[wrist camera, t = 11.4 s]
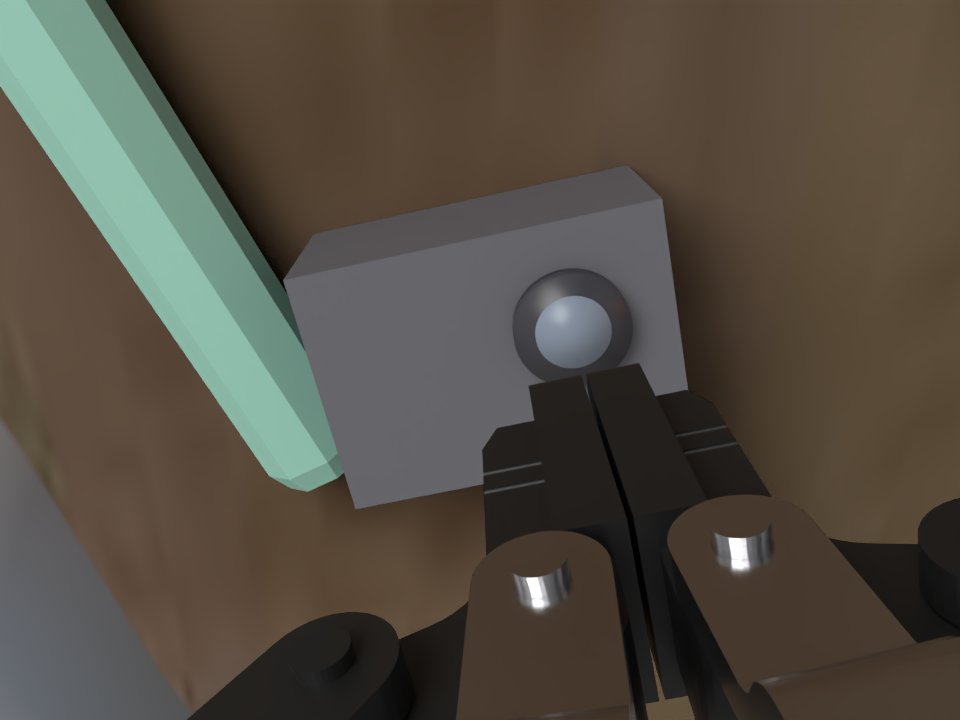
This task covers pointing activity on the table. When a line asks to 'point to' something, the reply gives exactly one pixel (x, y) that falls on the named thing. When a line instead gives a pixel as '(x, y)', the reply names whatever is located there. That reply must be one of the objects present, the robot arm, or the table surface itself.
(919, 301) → the table surface
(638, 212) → the camera case
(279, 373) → the mint green bar
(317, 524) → the table surface
